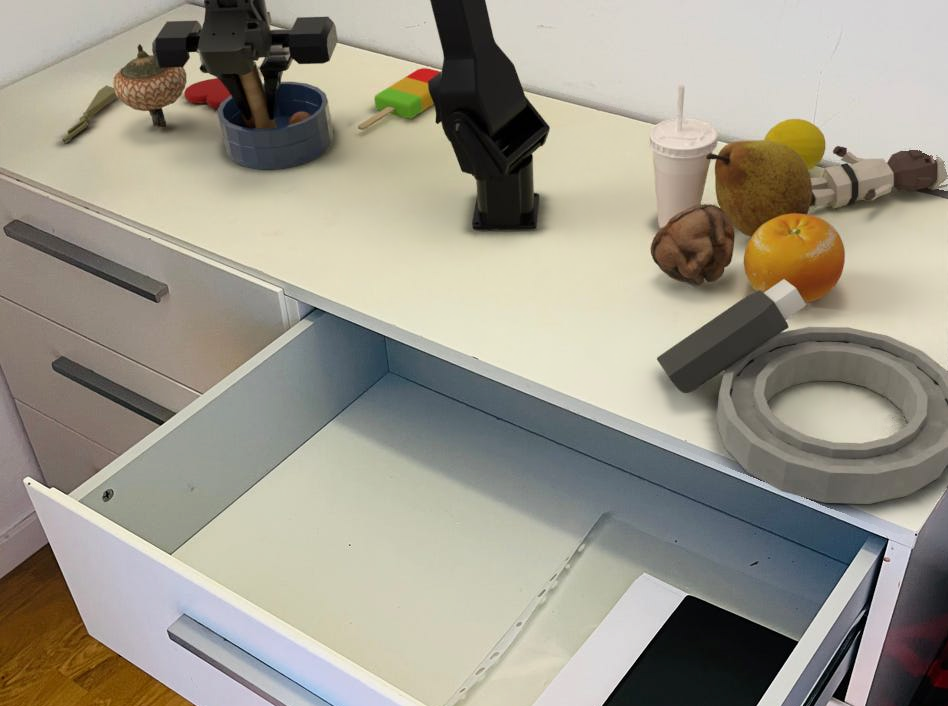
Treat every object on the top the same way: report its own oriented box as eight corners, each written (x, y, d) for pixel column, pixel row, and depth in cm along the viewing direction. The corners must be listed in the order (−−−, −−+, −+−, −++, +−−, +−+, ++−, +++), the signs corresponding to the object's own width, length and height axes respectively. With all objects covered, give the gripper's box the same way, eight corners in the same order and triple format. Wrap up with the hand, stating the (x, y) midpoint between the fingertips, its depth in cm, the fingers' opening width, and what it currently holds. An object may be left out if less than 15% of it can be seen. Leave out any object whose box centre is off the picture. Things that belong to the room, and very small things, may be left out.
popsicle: (459, 89, 140) (457, 74, 139) (379, 141, 132) (377, 125, 131) (423, 80, 143) (421, 65, 142) (342, 129, 135) (340, 114, 133)
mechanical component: (701, 484, 89) (704, 454, 87) (734, 344, 101) (737, 315, 99) (953, 521, 84) (962, 491, 82) (955, 369, 97) (963, 340, 95)
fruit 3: (713, 245, 106) (772, 189, 100) (777, 247, 111) (837, 193, 104) (750, 325, 103) (812, 272, 97) (814, 323, 108) (877, 273, 102)
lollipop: (256, 52, 151) (177, 99, 142) (255, 45, 151) (175, 92, 142) (305, 63, 148) (227, 112, 139) (304, 56, 147) (226, 105, 138)
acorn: (211, 122, 138) (192, 38, 131) (159, 151, 133) (136, 66, 126) (164, 106, 142) (143, 23, 135) (112, 134, 137) (87, 50, 130)
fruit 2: (805, 165, 115) (746, 78, 108) (839, 211, 109) (778, 123, 102) (732, 219, 119) (669, 139, 111) (760, 268, 112) (696, 186, 105)
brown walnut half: (676, 256, 101) (651, 216, 104) (669, 311, 108) (645, 273, 110) (756, 228, 102) (729, 190, 104) (743, 285, 109) (719, 247, 111)
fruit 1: (753, 185, 120) (814, 184, 124) (786, 157, 115) (849, 157, 119) (740, 137, 121) (801, 137, 125) (771, 107, 116) (834, 108, 120)
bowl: (322, 169, 128) (316, 130, 125) (214, 170, 129) (205, 132, 126) (341, 117, 137) (335, 80, 134) (239, 119, 138) (232, 82, 135)
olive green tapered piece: (107, 91, 144) (106, 84, 144) (129, 99, 144) (128, 92, 143) (45, 137, 137) (43, 130, 136) (68, 145, 136) (67, 138, 135)
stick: (272, 148, 131) (246, 71, 124) (258, 145, 132) (231, 69, 126) (284, 138, 132) (259, 61, 126) (271, 136, 133) (245, 59, 127)
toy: (785, 152, 117) (929, 118, 117) (781, 190, 120) (920, 157, 121) (817, 203, 112) (967, 167, 112) (811, 241, 116) (956, 206, 116)
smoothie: (667, 201, 119) (675, 67, 109) (722, 219, 116) (736, 83, 106) (632, 229, 116) (637, 92, 106) (687, 248, 113) (698, 110, 103)
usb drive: (668, 376, 93) (686, 402, 94) (798, 288, 91) (815, 316, 92) (655, 358, 98) (672, 383, 99) (778, 273, 96) (795, 300, 97)
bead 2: (315, 144, 131) (311, 118, 129) (289, 144, 131) (284, 119, 129) (320, 131, 133) (316, 106, 131) (294, 131, 134) (289, 106, 132)
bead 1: (265, 133, 132) (247, 111, 131) (249, 140, 134) (231, 119, 133) (278, 117, 134) (260, 95, 132) (262, 125, 136) (245, 104, 134)
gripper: (118, 7, 114) (159, 155, 125) (305, 1, 112) (330, 152, 123) (150, -36, 122) (186, 107, 132) (326, -42, 120) (348, 104, 130)
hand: (261, 118), depth 129 cm, fingers closed on stick, 2 cm apart
